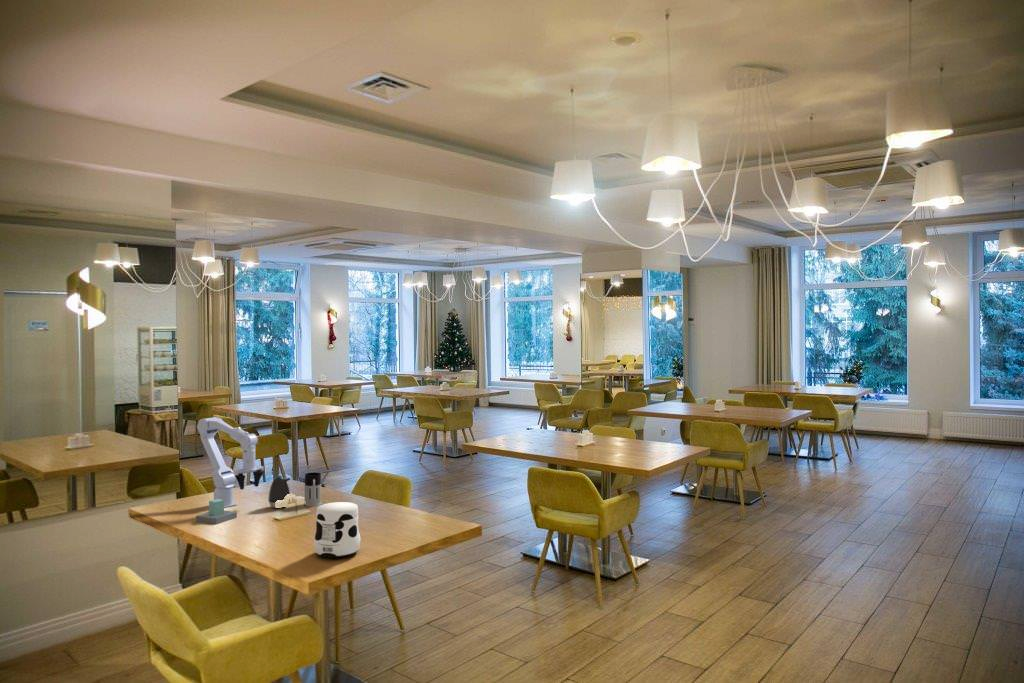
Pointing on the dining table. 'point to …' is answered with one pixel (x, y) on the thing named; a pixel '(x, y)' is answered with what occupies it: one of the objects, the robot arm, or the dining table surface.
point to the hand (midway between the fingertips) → (249, 487)
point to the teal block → (216, 507)
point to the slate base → (216, 517)
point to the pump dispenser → (278, 490)
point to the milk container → (337, 530)
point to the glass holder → (313, 489)
